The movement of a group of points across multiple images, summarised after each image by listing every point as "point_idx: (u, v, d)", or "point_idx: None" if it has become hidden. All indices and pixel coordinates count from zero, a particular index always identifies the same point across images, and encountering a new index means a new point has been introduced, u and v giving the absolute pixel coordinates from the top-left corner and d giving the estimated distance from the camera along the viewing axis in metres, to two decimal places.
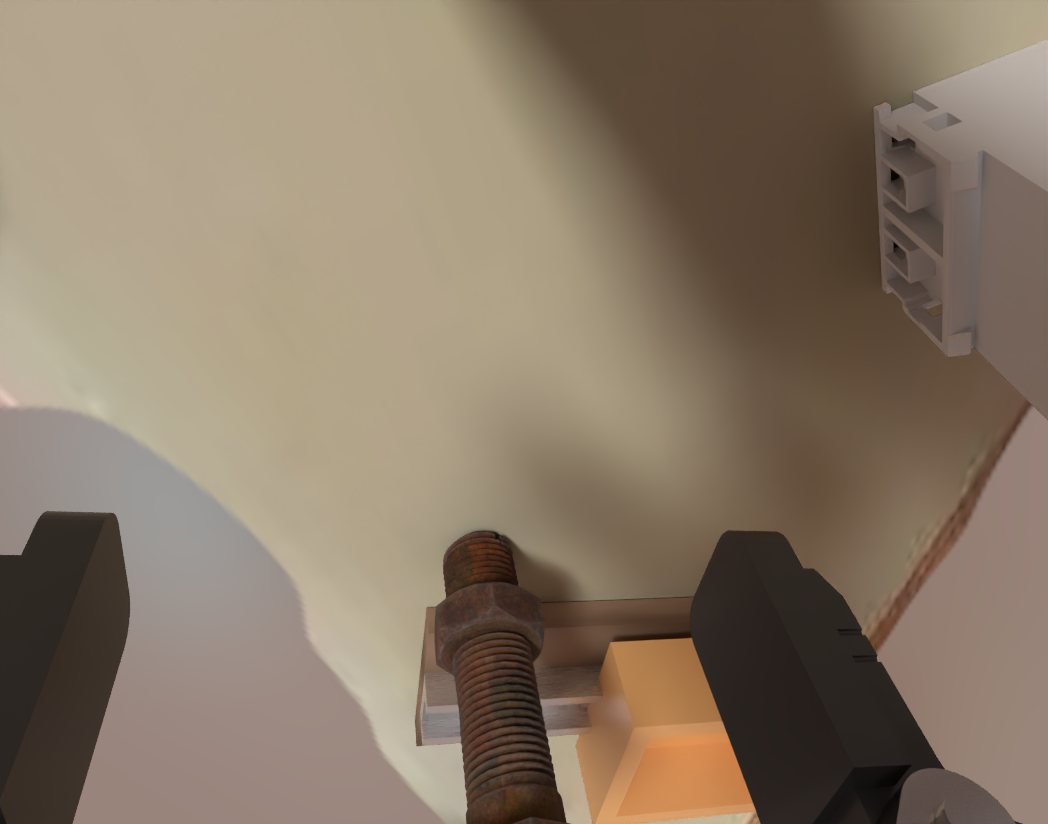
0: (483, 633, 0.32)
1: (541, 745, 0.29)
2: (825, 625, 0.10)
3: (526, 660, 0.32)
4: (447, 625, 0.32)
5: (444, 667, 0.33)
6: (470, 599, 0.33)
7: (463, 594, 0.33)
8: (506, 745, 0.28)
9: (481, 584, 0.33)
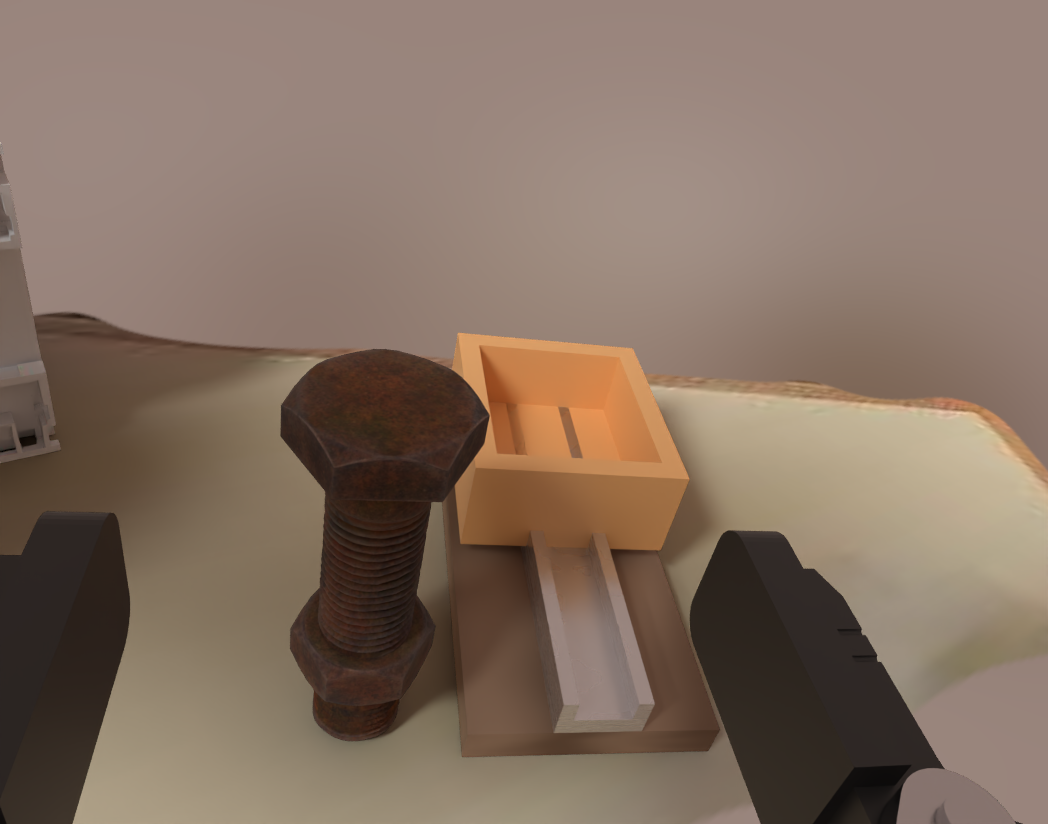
0: (325, 629, 0.27)
1: None
2: (825, 626, 0.10)
3: None
4: (320, 673, 0.27)
5: (393, 665, 0.27)
6: (303, 662, 0.28)
7: (307, 675, 0.28)
8: (328, 523, 0.25)
9: (296, 660, 0.28)
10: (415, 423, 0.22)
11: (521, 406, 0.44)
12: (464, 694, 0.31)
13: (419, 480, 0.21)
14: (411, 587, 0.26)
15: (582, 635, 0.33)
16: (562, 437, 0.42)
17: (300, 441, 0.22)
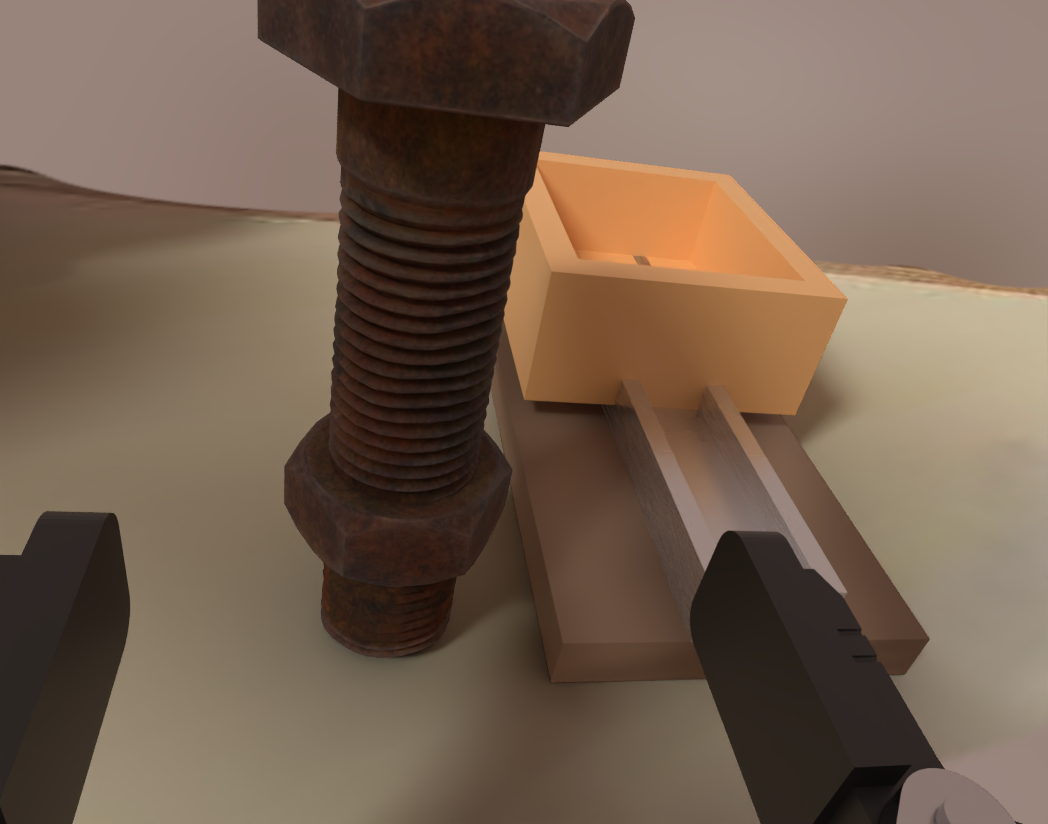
0: None
1: None
2: (825, 625, 0.10)
3: None
4: (335, 526, 0.16)
5: (454, 513, 0.16)
6: (306, 519, 0.17)
7: (312, 540, 0.17)
8: None
9: (295, 521, 0.18)
10: None
11: (586, 252, 0.33)
12: (550, 589, 0.21)
13: (531, 62, 0.11)
14: (485, 374, 0.16)
15: (713, 511, 0.23)
16: None
17: (293, 11, 0.11)
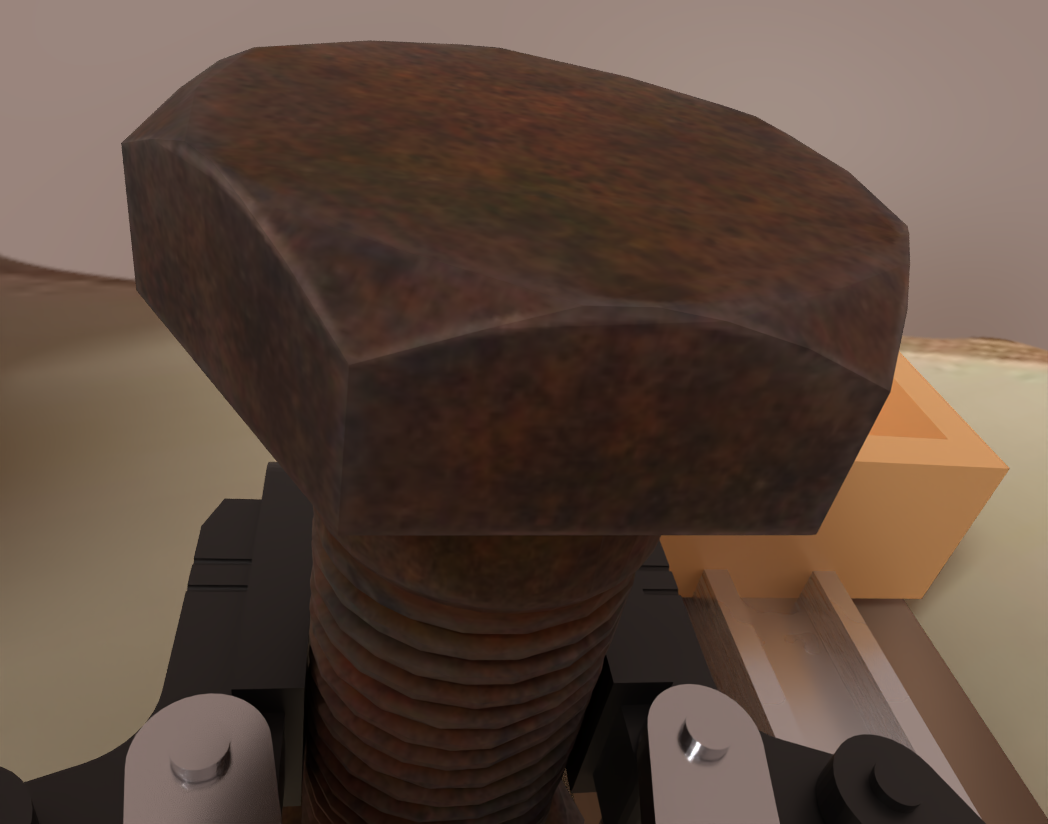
0: None
1: None
2: None
3: None
4: None
5: None
6: None
7: None
8: None
9: None
10: (689, 204, 0.05)
11: None
12: None
13: (753, 437, 0.04)
14: (561, 767, 0.09)
15: None
16: None
17: (191, 280, 0.05)
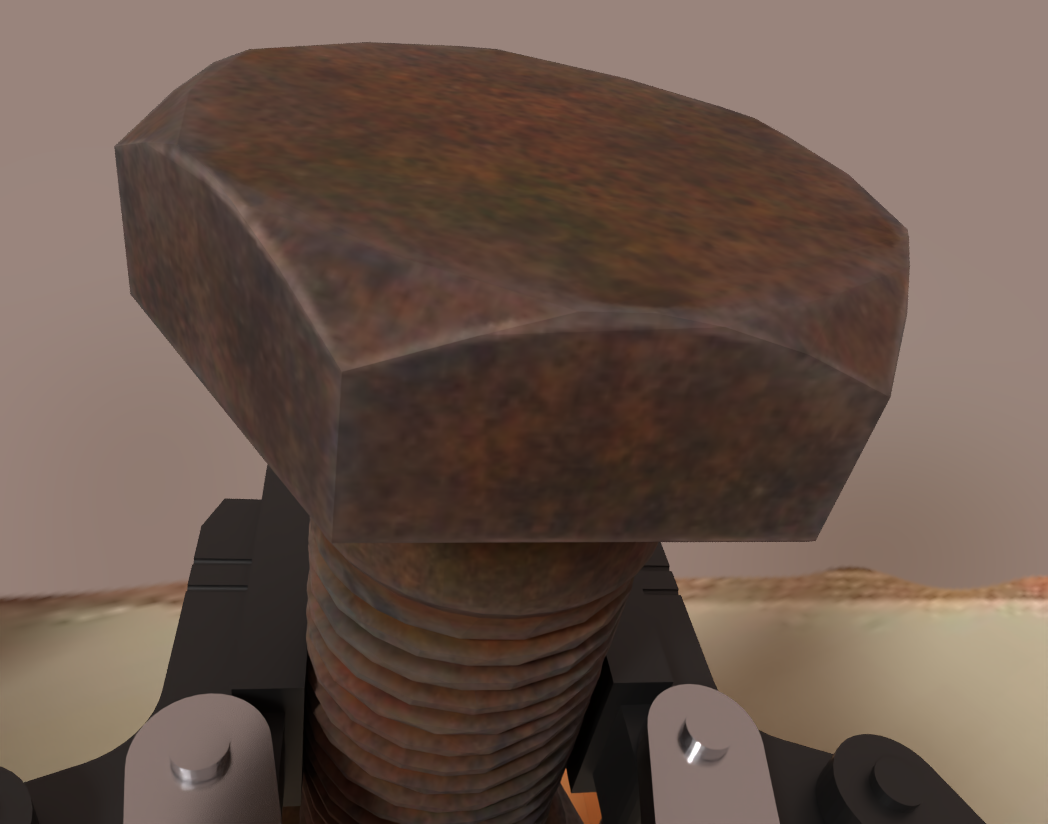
0: None
1: None
2: None
3: None
4: None
5: None
6: None
7: None
8: None
9: None
10: (687, 207, 0.05)
11: None
12: None
13: (754, 443, 0.04)
14: (560, 772, 0.09)
15: None
16: None
17: (187, 283, 0.05)
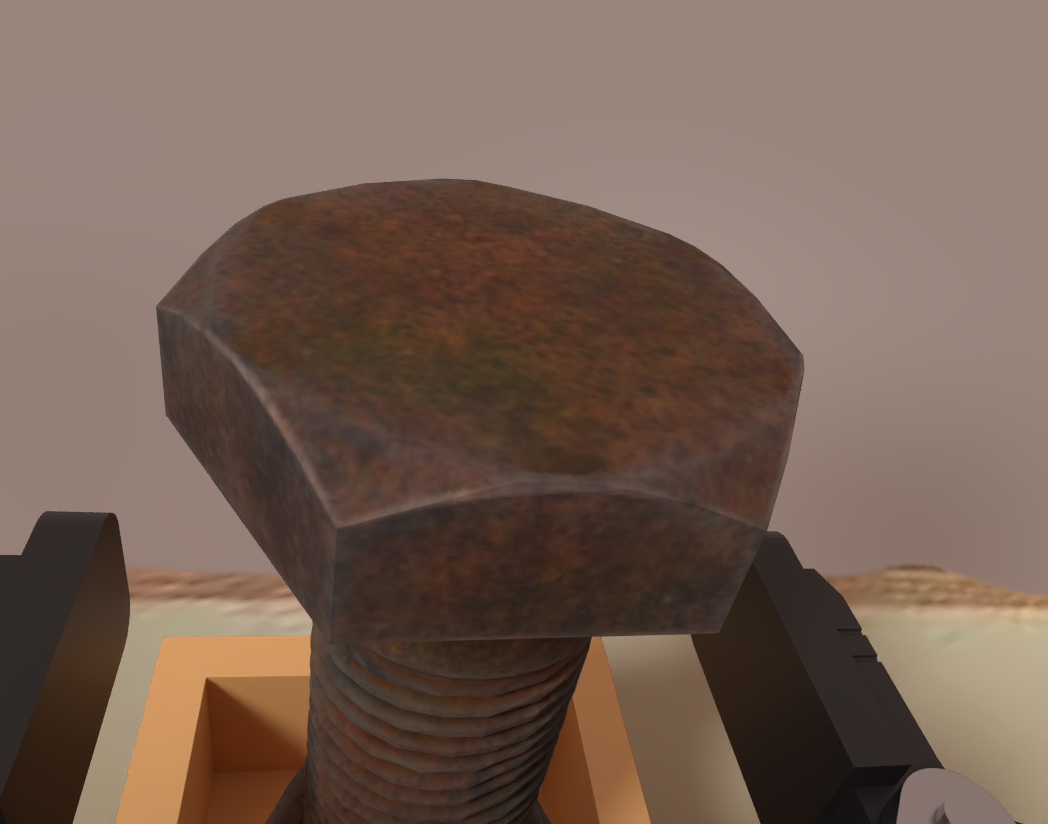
0: None
1: None
2: (825, 625, 0.10)
3: None
4: None
5: None
6: None
7: None
8: None
9: None
10: (617, 361, 0.06)
11: None
12: None
13: (659, 566, 0.06)
14: (532, 800, 0.10)
15: None
16: None
17: (214, 426, 0.06)
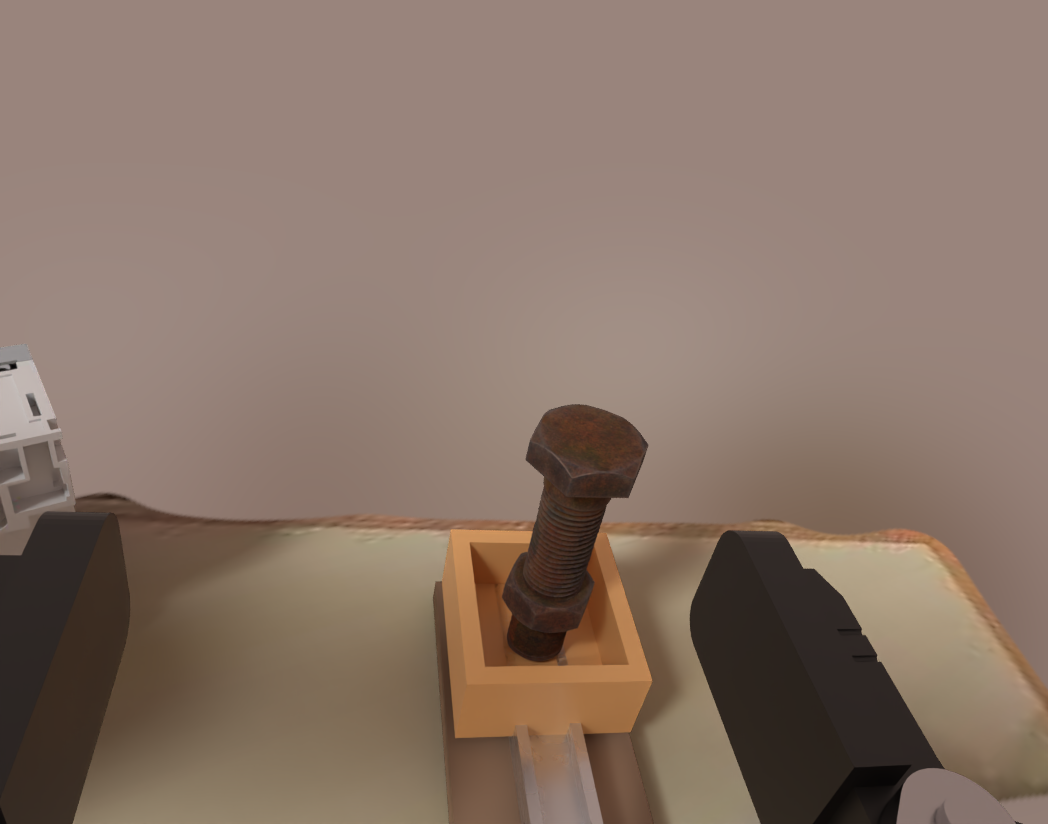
0: (529, 583, 0.42)
1: None
2: (825, 625, 0.10)
3: None
4: (530, 610, 0.42)
5: (575, 605, 0.42)
6: (514, 605, 0.43)
7: (516, 613, 0.43)
8: (543, 513, 0.40)
9: (506, 604, 0.43)
10: (611, 451, 0.37)
11: None
12: None
13: (617, 485, 0.36)
14: (590, 554, 0.41)
15: None
16: None
17: (543, 462, 0.37)
